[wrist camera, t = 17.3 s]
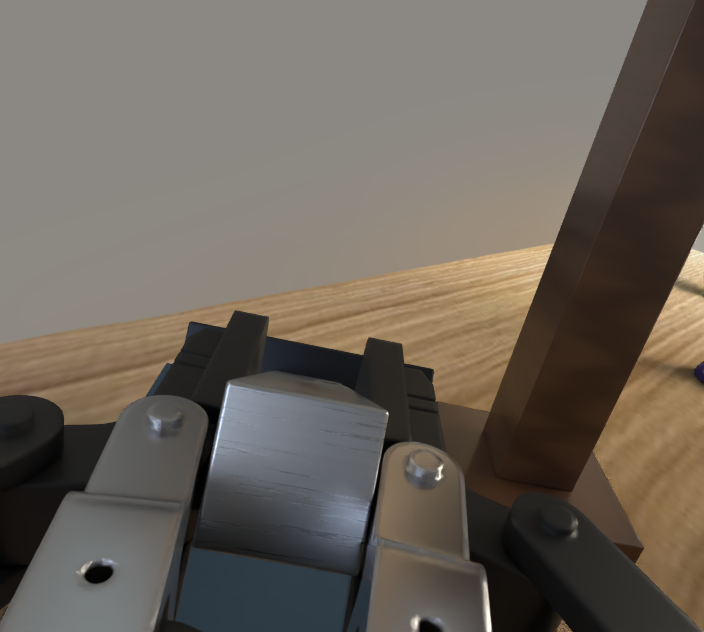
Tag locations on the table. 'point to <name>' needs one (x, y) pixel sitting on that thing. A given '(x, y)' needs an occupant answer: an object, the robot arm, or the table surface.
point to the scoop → (257, 592)
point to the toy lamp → (699, 372)
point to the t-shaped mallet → (293, 461)
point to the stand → (600, 284)
